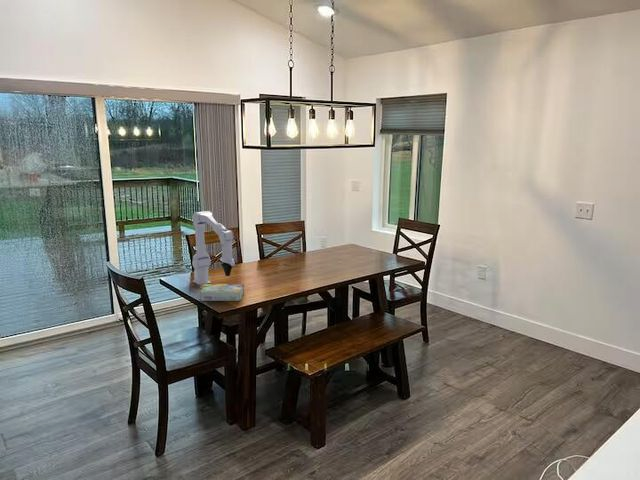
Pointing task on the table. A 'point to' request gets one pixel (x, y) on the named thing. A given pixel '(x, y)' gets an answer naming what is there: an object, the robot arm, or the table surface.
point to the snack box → (222, 292)
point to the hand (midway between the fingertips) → (227, 275)
